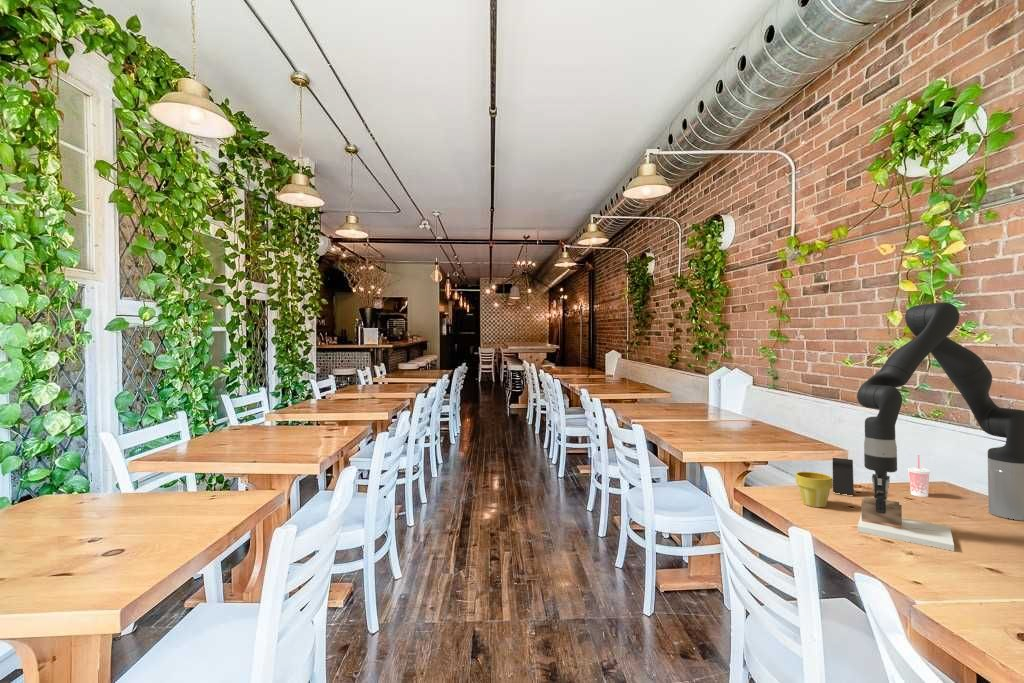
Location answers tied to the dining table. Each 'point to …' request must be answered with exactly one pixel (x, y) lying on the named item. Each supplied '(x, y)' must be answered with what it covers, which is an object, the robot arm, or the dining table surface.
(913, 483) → the beverage cup
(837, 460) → the phone stand
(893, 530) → the board
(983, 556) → the dining table surface
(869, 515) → the block
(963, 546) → the dining table surface
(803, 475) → the plant pot
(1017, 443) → the robot arm
